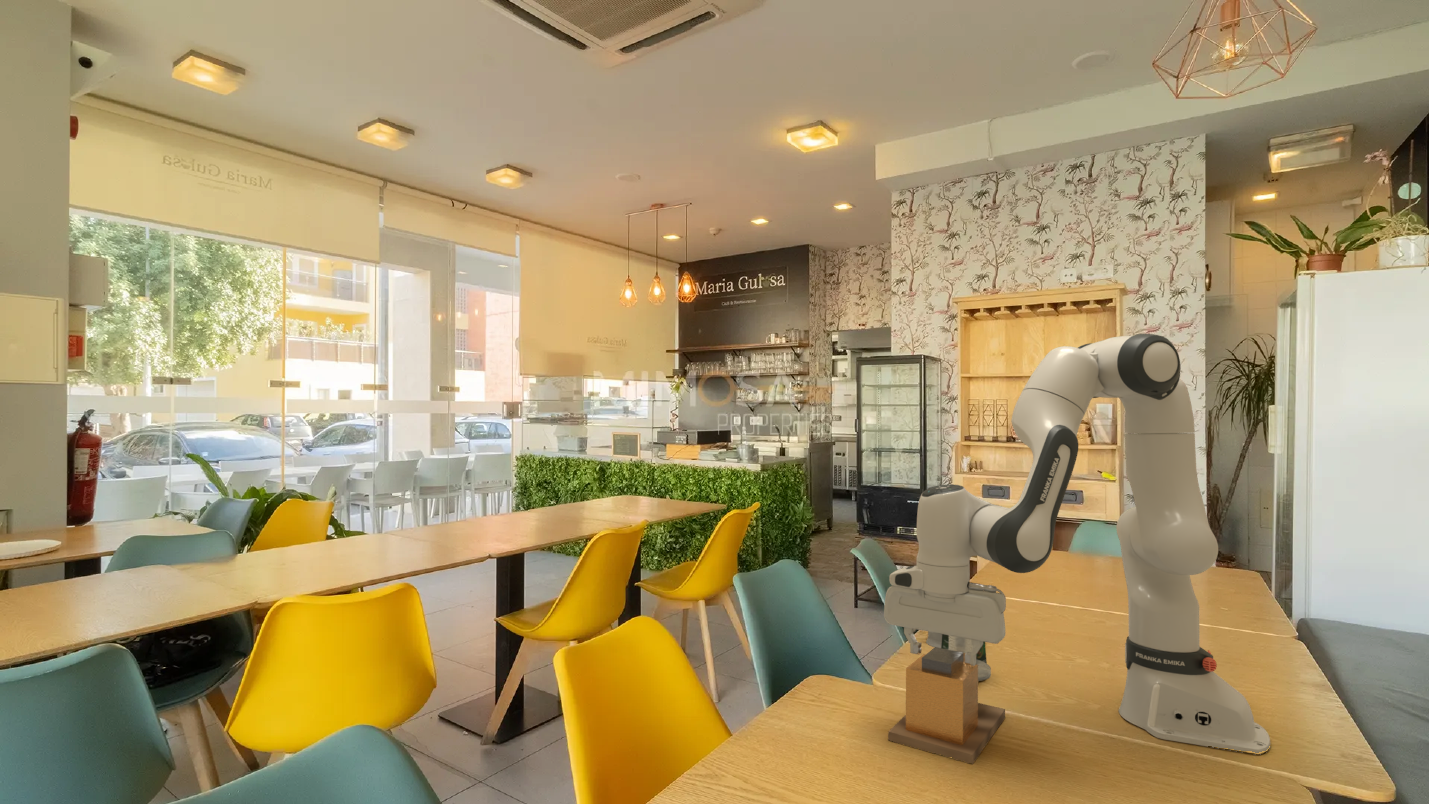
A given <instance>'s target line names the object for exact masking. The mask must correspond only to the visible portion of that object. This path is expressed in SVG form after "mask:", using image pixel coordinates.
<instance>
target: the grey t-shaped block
mask: <svg viewBox="0 0 1429 804" xmlns="http://www.w3.org/2000/svg"><path fill="white" fill-rule="evenodd" d="M925 654H926V655H925V656H923V657H922V670H926V671H930V672H935V673H939V674H944V675H949V676H952V675H953V674H954V673H955V672H956V671H957V670H958V669H959V668H960V667H961V666H962V665H963V652H958V651H953V650H948V649H943V648H937V647H932V648H931V650H930V651H928V652H927V653H925Z"/></svg>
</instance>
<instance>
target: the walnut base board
mask: <svg viewBox="0 0 1429 804" xmlns="http://www.w3.org/2000/svg"><path fill="white" fill-rule="evenodd" d="M1005 718H1006V708H1002V707H997V706H993V705H989V704H985V703H981V702H978V726H977V728H976V729H975V730H974V731H973V733H972V734H971V735H970V737H969V738H968V739H967V741H966V742H965V743H964V745H959V744H956V743H952V742H948V741H945V740H941V739H937V738H934V737H930V736H926V735H923V734H919V733H915V732H912V731H908V730H906V714H905V715H904V716H903V717H902V718H901V719H900V720H899V721H898V722H896V724H894V726H892V727H891V729H889V730H888V731H887V732H888V733H887V734H888V735H887V738H888V739H887V740H888V741H889V740H890V741H889V742H892V741H893V742H892V743H896V744H899V743H900V744H899V745H903V744H904V745H903V746H907V747H910V746H911V748H913V747H914V749H917V748H919V749H918V750H920V749H921V751H924V752H927V751H929V752H928V753H931V752H932V753H931V754H934V753H936V754H935V755H938V754H941V755H944V756H943V757H945V756H946V758H948V757H952V758H954V759H953V760H956V761H959V760H961V761H960V762H962V761H965V762H964V763H966V762H967V763H966V764H969V763H972V764H971V765H973V764H974V763H975V762H976V760H977V759H978V757H979V756H980V755H981V754H982V752H981V751H983V750H984V749H985V747H986V746H987V744H988V743H989V741H990V740H991V739H992V737H993V736H994V735H995V733H996V732H997V730H998V728H999V727H1000V725H1001V724H1002V723H1003V722H1004V720H1005ZM983 748H984V749H983ZM941 755H940V756H941ZM952 758H951V759H952ZM974 761H975V762H974Z"/></svg>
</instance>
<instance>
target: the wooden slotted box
mask: <svg viewBox="0 0 1429 804" xmlns="http://www.w3.org/2000/svg"><path fill="white" fill-rule="evenodd" d="M974 647H975V646H972V645H971V639H966V638H961V637H956V636H950V635H949V650H953V651H958V652H963V665H962V666H961V667H960V668H959V669H958V670H957V671H956V672H955V673H954V674H953V675H952V676H949V675H944V674H939V673H935V672H930V671H926V670H922V657H923V656H925V655H926V654H927V653H925V654H924V653H923V654H922V655H920V657H918V658H917V659H916V660H914V661H913V662H912V663H910V665H908V666H907V667H906V668H905V715H906V730H908V731H912V732H915V733H919V734H923V735H926V736H930V737H934V738H937V739H941V740H945V741H948V742H952V743H956V744H959V745H964V743H965V742H966V741H967V739H968V738H969V737H970V735H971V734H972V733H973V731H974V730H975V729H976V728H977V726H978V703H979V682H980V681H982V682H983V681H985V680H988V679H990V677H991V675H992V669H991V666H990V665H989V664H988V662H987V663H985V662H983V661H980V660H977V659H976V665H975V666H971V665H966V664H965V654H966V653H967V652H972V651H973V649H974Z"/></svg>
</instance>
